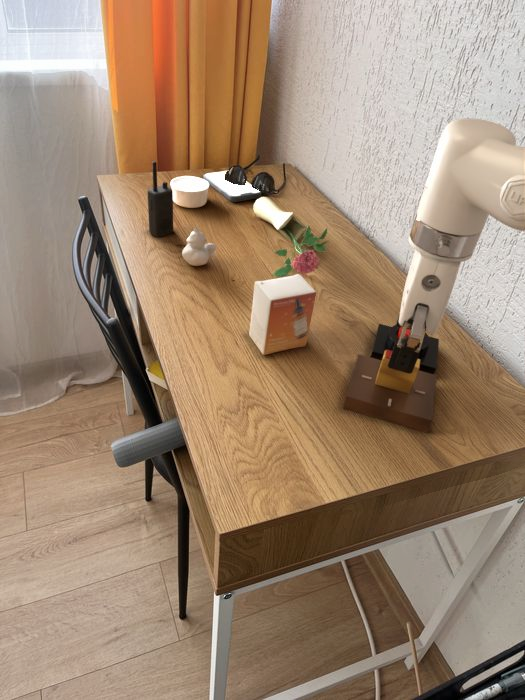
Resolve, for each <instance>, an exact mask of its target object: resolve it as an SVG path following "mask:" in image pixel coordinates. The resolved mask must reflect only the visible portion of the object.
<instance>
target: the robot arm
mask: <svg viewBox="0 0 525 700" xmlns="http://www.w3.org/2000/svg"><path fill="white" fill-rule="evenodd" d="M516 138H517V137H516V136H515V134H514V133H513V131H512V130H510V129H509V128H507V127H506V126H503V125H501V124H499V123H497V122H493V121H489V120H486V119H480V118H470V117H467V118H457V119H455V120H452V121H450V122H449V123H448V124H446V126H445V127H444V129H443V131H442V133H441V135H440V138H439V141H438V143H437V147H436V150H435V153H434V156H433V160H432V163H431V166H430V170H429V172H428V175H427V179H426V182H425V185H424V188H423V191H422V194H421V198H420V201H419V204H418V207H417V211H416V213H415V217H414V219H413V222H412V227H411V229H410V233H409V234H408V244H409V245H410V246H411V247H412V249H414V253H413V255H412V256H413V257H412V259H411V263H410V266H409V269H408V272H407V276H406V280H405V284H404V287H403V292H402V297H401V304H400V309H399V313H398V317H397V319H396V323H395V325H397V326H398V327H402V330H401V333H400V337H399V340H398V342H395V345H394V348H393V351H392V354H391V357H390V360H389V362H388V367H389V368H391V369H394V370H398V371H402V372H405V373H409V374H411V373H412V372H413V369H414V367H415V364H416V362H417V359H418V357H419V354H420V351H421V345H422V342H423V338H424V335H425V332H426V333H427V334H430V335H431V336H435V335H436V334H437V333H438V331H439V329H440V326H441V323H442V319H443V317H444V314H445V311H446V308H447V305H448V303H449V300H450V298H451V295H452V292H453V289H454V287H455V283H456V280H457V276H458V273H459V270H460V266H461V263H463V262H466V261H469V260H470V259H471V258H472V256H473V254H474V252H475V250H476V247H477V245H478V242H479V239H480V238H481V235H482V233H483V230H484V228H485V225H486V223H487V220H488V218H489V216H491V217H492V218H494V219H495V220H496V221H498V222H500V223H501V224H502V225H505V226H507V227H508V228H511V229H513V230H517V231H520V232H525V146H518V145H517V139H516ZM407 329H409V330H411V331H410V333H409V336H408V337H405V334H406V330H407ZM404 337H405V338H404Z"/></svg>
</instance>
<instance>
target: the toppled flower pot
mask: <svg viewBox="0 0 525 700" xmlns="http://www.w3.org/2000/svg"><path fill="white" fill-rule="evenodd" d="M252 210H253V212H254V215H255V216H256V217H258V219H260V220H263V221H265V222H267V223H269V224H271V225H273V227H274V228H275V229H276V230H277V231H278V232H279V233H280V234H281V235H282V236H283V237H284V238H285V239H286V240H287V241H288V242H289V243H290V244H291V245H292V248H294V249H292V250H291V251H288V250H287V248H281V249H278V250H275V251H274V254H275V255H277V256H279V257H287V254H288V253H289V252H291V256H290V257H288V258H286V259H285V261H284V263H283V264H285V266H282V267H280V268H278V269H276V270H275V272H273V274H272V276H273V277H286V276H287V275H289V274H290V272H291V271H292V270H293V269H294V270H296V273H298V274H302V275H303V274H305V275H306V274H310V273H312V272H314V271H315V270H317V268H318V266H319V264H320V257H318V256H317V254H316V252H314V251H317V252H320V253H322V252H327V248H326V247H325V245H326V244H327V243H328V242H329V240H326V241H323V242H318V241H319V240H324V239H325V238H326V237H327V234H328V227H326V228H325V229H324V231H323V232H322V233H321V234H320V236H318V237H317V236H314V234H313V233H311V226H310V225H306V224H305V223H304V222H303V221H302V220H301V219H300V217H298V216H297V215H296V214H295V213H294V212H291V211H290V212H289V211H287V212H286V211H284V210H282V208H280V206H278V205H277V204H276V203H275V202H274V201H273V200H272V199H271V198H269V197H268V196H261V197H260V198H256V200H255V202H254V203H253V209H252ZM303 233H304V234H303ZM302 234H303V235H302ZM302 237H303V238H302ZM298 239H299V240H300V241H301V242H300V243H299V242H298ZM303 245H307V246H308V247H311V246H313V249H312V250H311V249H308V248H304V247H303ZM297 247H298V248H297ZM301 247H302V248H303V249H302V248H301ZM298 249H299V250H298ZM295 252H297V253H298V256H295V255H294V254H295ZM293 257H294V261H292V258H293ZM291 261H292V262H291ZM291 264H292V265H291Z"/></svg>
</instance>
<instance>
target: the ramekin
mask: <svg viewBox="0 0 525 700" xmlns="http://www.w3.org/2000/svg"><path fill="white" fill-rule="evenodd" d="M170 188H171V189H172V190H173V203H174V204H175V205H177V206H179V207H182V208H187V209H194V208H195V209H197V208H200V207H203V206H205V205H206V203H207V201H208V196H209V189H210V184H209V183H208V182H207V181H206V180H204V179H203V178H201V177H198V176H192V175H182V176H177V177H174V178H173V179H171V181H170Z"/></svg>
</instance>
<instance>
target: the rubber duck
mask: <svg viewBox="0 0 525 700" xmlns="http://www.w3.org/2000/svg"><path fill="white" fill-rule="evenodd" d="M185 241H186V242H187V244H186V245H185V247H184V248H183V249H182V252H181V255H182V258H183V259H184V261H185V262H186V263H187V264H189V265H190V266H193V267H194V266H195V267H199V266H204V265H207V263H208V261H209V260H210V259H212V258H215V256H216V250H217V245H216V244H215V243H212V242H211V243H207V237H206V236H205V234H204V233H203V232H202V231H201V230H199V228H197V226H196V225H194V229H193V230H192V231H191V232H190V234H189V236H188V237H187V238H186V240H185ZM206 243H207V244H206Z"/></svg>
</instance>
